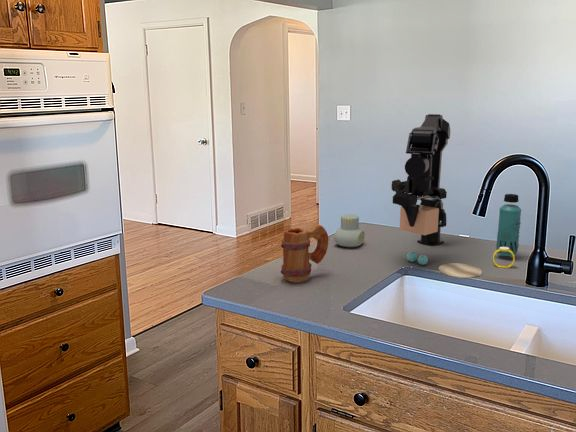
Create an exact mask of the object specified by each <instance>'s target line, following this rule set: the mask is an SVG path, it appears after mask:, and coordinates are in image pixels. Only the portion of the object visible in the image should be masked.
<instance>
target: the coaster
mask: <svg viewBox="0 0 576 432" xmlns="http://www.w3.org/2000/svg"><path fill="white" fill-rule="evenodd" d="M438 272H439V273H440V274H442V275H445V276H448V277H452V278H457V279H458V278H459V279H473V278H478V277H480V276H482V275H483V270H482V269H481V267H480V268H479V266H475V265H471V264H467V263H459V262H458V263H457V262H454V263H453V262H451V263H450V262H449V263H444V264H442V265H439V267H438Z"/></svg>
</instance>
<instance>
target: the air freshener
mask: <svg viewBox="0 0 576 432" xmlns="http://www.w3.org/2000/svg"><path fill="white" fill-rule="evenodd" d="M359 221H360V217H359V216H358V215H357V214H356V215H355V214H343V215H341V216H340V227H339V228H337V229H336V230H335V232H334V237H333V239H334V240H333V241H334V242H335V243H336V244H337V245H339V246H340V247H344V248H357V247H360V246H361V245H362V244H363V243H364V240H365V237H366V234H365V231H364V230H363V229H361V228H359V227H360V226H359Z"/></svg>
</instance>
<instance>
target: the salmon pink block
mask: <svg viewBox="0 0 576 432" xmlns="http://www.w3.org/2000/svg"><path fill="white" fill-rule="evenodd" d="M416 204H417V203H416ZM417 205H420V204H417ZM399 214H400V215H399V230H401V231H403V232H409V233H412V234H417V235H420V236H421V235H428V234H431V233H435V232H438V216H439V208H434V207H428V206H423V205H420V207H419V211H418V214H417V217H416V221H415V224H414V226H413V227H411V226H410V225H409V222H408V218H407V215H406V212H405V210H404V208H403V207H402V206H400V211H399Z"/></svg>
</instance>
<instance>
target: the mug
mask: <svg viewBox="0 0 576 432" xmlns="http://www.w3.org/2000/svg"><path fill="white" fill-rule="evenodd" d="M311 238H313V239H315V240H316V241H317V242H316V247H315V249H314V250H313V251H312V252H309V248H310V246H311V240H310V239H311ZM329 241H330V240H329V234H328V232H327V230H326V228H325V227H324V226H323V225H321V224H318V223H315V224H313V225H312V226H311V227H310V228H309V229H305V228H302V229H301V228H300V227H296V228H288V229H285V230H284V231H283V239H282V240H281V244H280V247H281V248H282V255H283V256H282V259H283V260H282V261H283V262H282V265H281V270H280V274H281V275H283V279H284V280H286V281H288V282H290V283H297V284H298V283H302V282H305V281H308V279H309V278H310V277H311V272H312V263H311V262H310V261H312V262H313V263H315V264H321V262H322V260H323V259H324V258H325V256H326V254H327V251H328V248H329Z"/></svg>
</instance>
